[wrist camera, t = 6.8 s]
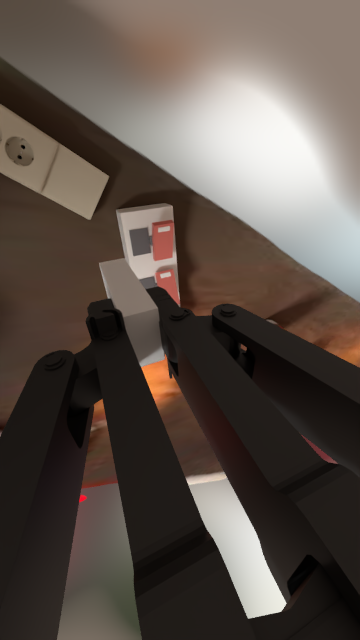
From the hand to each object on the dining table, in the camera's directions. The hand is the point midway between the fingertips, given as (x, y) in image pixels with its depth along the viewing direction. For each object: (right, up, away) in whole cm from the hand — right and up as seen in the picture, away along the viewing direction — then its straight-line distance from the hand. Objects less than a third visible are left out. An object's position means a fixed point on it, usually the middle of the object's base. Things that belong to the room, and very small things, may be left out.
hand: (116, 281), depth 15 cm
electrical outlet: (-17, +21, +21) cm, 34 cm away
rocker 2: (+2, +4, +32) cm, 32 cm away
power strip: (-2, +3, +38) cm, 39 cm away
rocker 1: (+1, +11, +27) cm, 29 cm away
